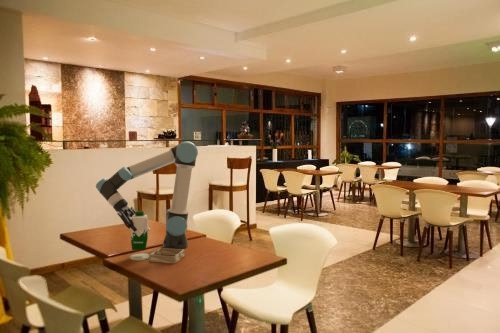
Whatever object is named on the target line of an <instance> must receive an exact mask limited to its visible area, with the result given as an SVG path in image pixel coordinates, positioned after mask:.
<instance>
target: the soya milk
mask: <svg viewBox="0 0 500 333" xmlns="http://www.w3.org/2000/svg"><path fill="white" fill-rule="evenodd" d="M148 219H149V218H148V214H144V211H143V210H142V211H141V210H137V211H136V215H133V216H132V217H131V220H132V222H133V224H135V225H136V226H137V227H138V228H139V230H140V231H141V232H142V234H141V235H140V236H139V237H138V236H137V234H136V233H135V232H134V231H133V230H132V229H131V228H130V243H131V244H130V245H131V251H145V250H146V248H147V244H148V237H149V236H148V232H149V231H148V227H149V225H148V224H149V222H148Z"/></svg>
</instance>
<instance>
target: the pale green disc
mask: <svg viewBox="0 0 500 333" xmlns="http://www.w3.org/2000/svg"><path fill="white" fill-rule="evenodd" d="M149 255H150V254H149V253H134V254H132V255H130V256H129V259H130V261H131V260H132V261H136V262H137V261H138V262H139V261H146V260H149Z"/></svg>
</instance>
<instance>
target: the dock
mask: <svg viewBox="0 0 500 333" xmlns="http://www.w3.org/2000/svg"><path fill="white" fill-rule="evenodd" d="M185 252H186V251H185V249H184V248H181V249H170V248H164V247H159V248H158V249H156V250H155V251H152V252H151V253H150V254H149V259H148V261H149V262H150V263H151V262H152V263H153V262H154V263H164V264H176V263H178V262H179V261H180V260H182V258H183V257H185Z"/></svg>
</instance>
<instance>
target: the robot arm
mask: <svg viewBox="0 0 500 333" xmlns="http://www.w3.org/2000/svg"><path fill="white" fill-rule="evenodd" d="M198 151H199V150H198V147H197V146H196V144H194V143H193V142H191V141H182V142H179V144H177V145H175V146H173V147H171V148H169V150H167V151H164V152H162V153H161V154H158V155H155V156H153V157H149V158H147V159H145V160H141V161H139V162H137V163H134V164H132V165H129V166H128V167H127V166H122V167H121V168H120V169H118V170H117V171H116V172H115V173H114V174H113V175H112V176H111V177H109V178H102V179H100V180H99V181H98V182H97V183H96V185H95V188H96V189H97V191H98V192H99V194H100V195H102V197H103V198H104V199H105V200H106V201H107V202H108V204H109V205H110V206H111V207H112V208H113V209H114V210H115V211H116V213H117V215H118V217H119V218H120V219H121V221H122V222H123V224H124V225H125V226H126V228H127V229H130V230H131V229H132V230H133V231H134V232H135V233H136V234H137V236H138V237H139V236H140V235H141V234H142V232H141V231H140V230H139V228H138V227H137V226H136V225H135V224H133V222H132V220H131V219H132V216H133V215H136V212H137V211H136V210H135V208H134V207H133V206H131V207H129V206H128V205H129V203H128V201H127V200H126V199H125V198H124V196H122V194H121V193H120V192H119V191H118V190H119V189H120V188H121V187H122V186H123V185H125V184H126V183H127V182H128V181H131V180H134V179H135V178H136V179H137V178H138V177H140V176H143V175H147V174H148V173H151V172H153V171H156V170H159V169H160V168H164V167H166V166H168V165H171V164H174V165H175V166H176V172H175V177H174V178H175V179H174V185H173V186H174V187H173V194H172V199H171V207H170V208H168V209H166V211H165V235H164V238H163V242H162V248H170V249H184V248H187V247H188V246H189V241H188V238H187V235H186V234H187V233H186V230H187V229H188V218H189V211H188V210H187V207H188V198H189V193H190V192H189V191H190V184H191V178H192V170H193V169H194V168H195V167H196V163H197V162H196V161H197V157H198V154H199V152H198ZM150 230H151V228H150V227H149V226H148V232H149V231H150Z"/></svg>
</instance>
